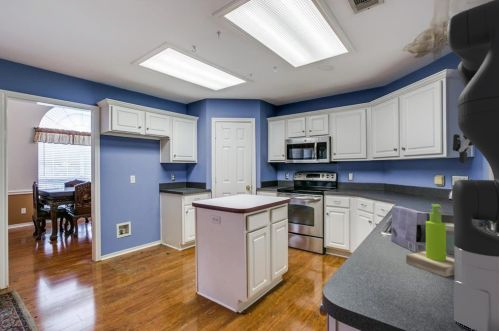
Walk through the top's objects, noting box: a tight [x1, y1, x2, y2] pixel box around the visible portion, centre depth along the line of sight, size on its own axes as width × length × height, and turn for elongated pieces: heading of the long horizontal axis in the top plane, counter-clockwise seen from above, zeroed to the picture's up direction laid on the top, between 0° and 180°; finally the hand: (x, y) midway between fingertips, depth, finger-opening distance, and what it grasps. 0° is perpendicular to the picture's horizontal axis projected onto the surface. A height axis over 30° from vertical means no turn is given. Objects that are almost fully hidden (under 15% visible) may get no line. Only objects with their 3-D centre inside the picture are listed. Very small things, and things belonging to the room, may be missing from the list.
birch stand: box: [405, 251, 454, 278], centre depth 88 cm, size 13×13×3 cm
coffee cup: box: [444, 222, 454, 256], centre depth 103 cm, size 8×8×12 cm
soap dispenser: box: [426, 203, 447, 261], centre depth 88 cm, size 6×7×20 cm
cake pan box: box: [390, 205, 428, 254], centre depth 111 cm, size 19×5×18 cm, turn 0°
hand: (479, 162), depth 80 cm, fingers open, 8 cm apart
